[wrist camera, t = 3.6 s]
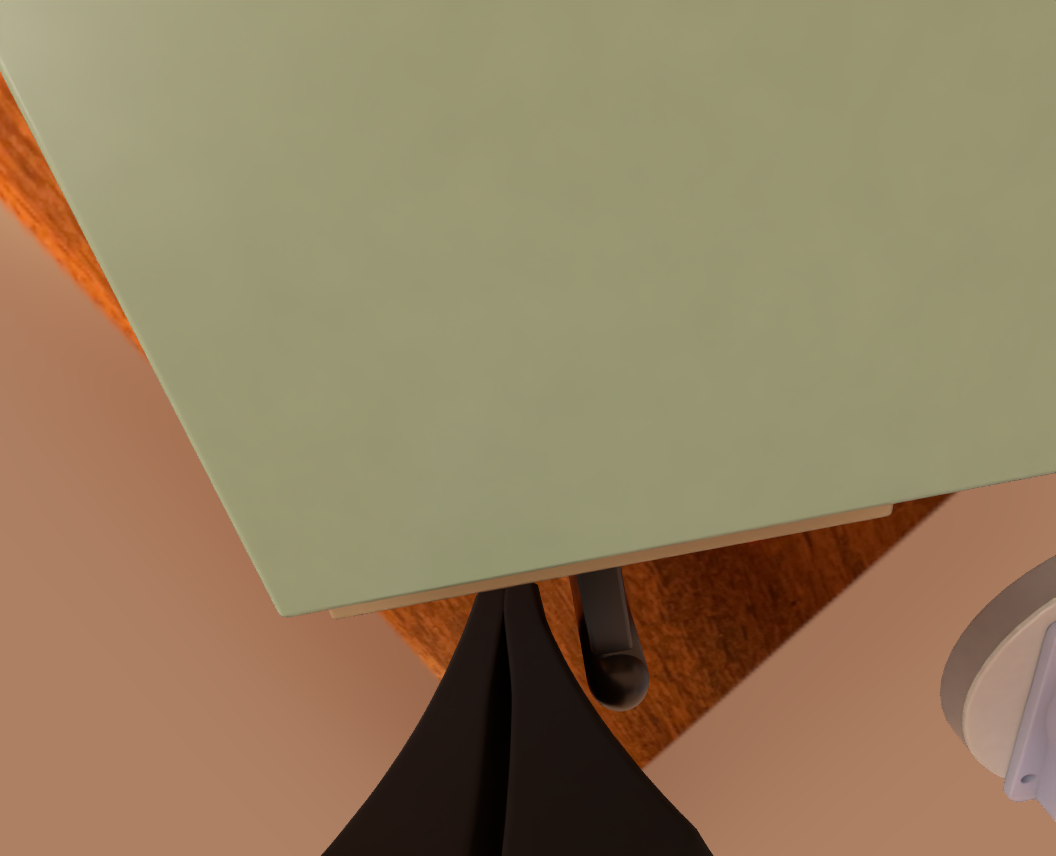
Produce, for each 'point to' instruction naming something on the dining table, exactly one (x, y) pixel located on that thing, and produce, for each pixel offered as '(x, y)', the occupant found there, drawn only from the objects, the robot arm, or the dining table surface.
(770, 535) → the sliding door
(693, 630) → the dining table surface
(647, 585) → the dining table surface
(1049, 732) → the robot arm
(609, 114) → the cupboard
